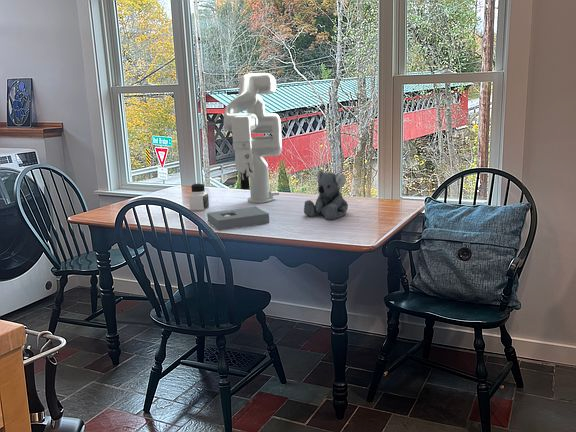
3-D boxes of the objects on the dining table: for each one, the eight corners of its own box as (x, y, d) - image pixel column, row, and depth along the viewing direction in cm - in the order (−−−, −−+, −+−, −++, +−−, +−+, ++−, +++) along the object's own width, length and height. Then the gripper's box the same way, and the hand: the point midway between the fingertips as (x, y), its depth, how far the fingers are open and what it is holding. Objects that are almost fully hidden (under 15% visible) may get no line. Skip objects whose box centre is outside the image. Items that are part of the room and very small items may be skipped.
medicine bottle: (204, 210, 268) (202, 185, 265) (189, 210, 270) (187, 185, 267) (209, 207, 275) (207, 182, 272) (195, 207, 277) (193, 182, 274)
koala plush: (301, 216, 249) (299, 171, 245) (327, 208, 262) (325, 165, 257) (332, 221, 238) (331, 175, 233) (357, 213, 250) (357, 168, 246)
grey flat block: (255, 215, 254) (255, 206, 253) (269, 222, 240) (268, 213, 239) (207, 222, 246) (207, 212, 245) (218, 230, 232) (218, 220, 231)
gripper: (257, 146, 232) (259, 190, 237) (244, 142, 245) (247, 184, 250) (239, 148, 229) (242, 193, 234) (228, 144, 242) (231, 186, 247)
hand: (245, 188), depth 242 cm, fingers closed
